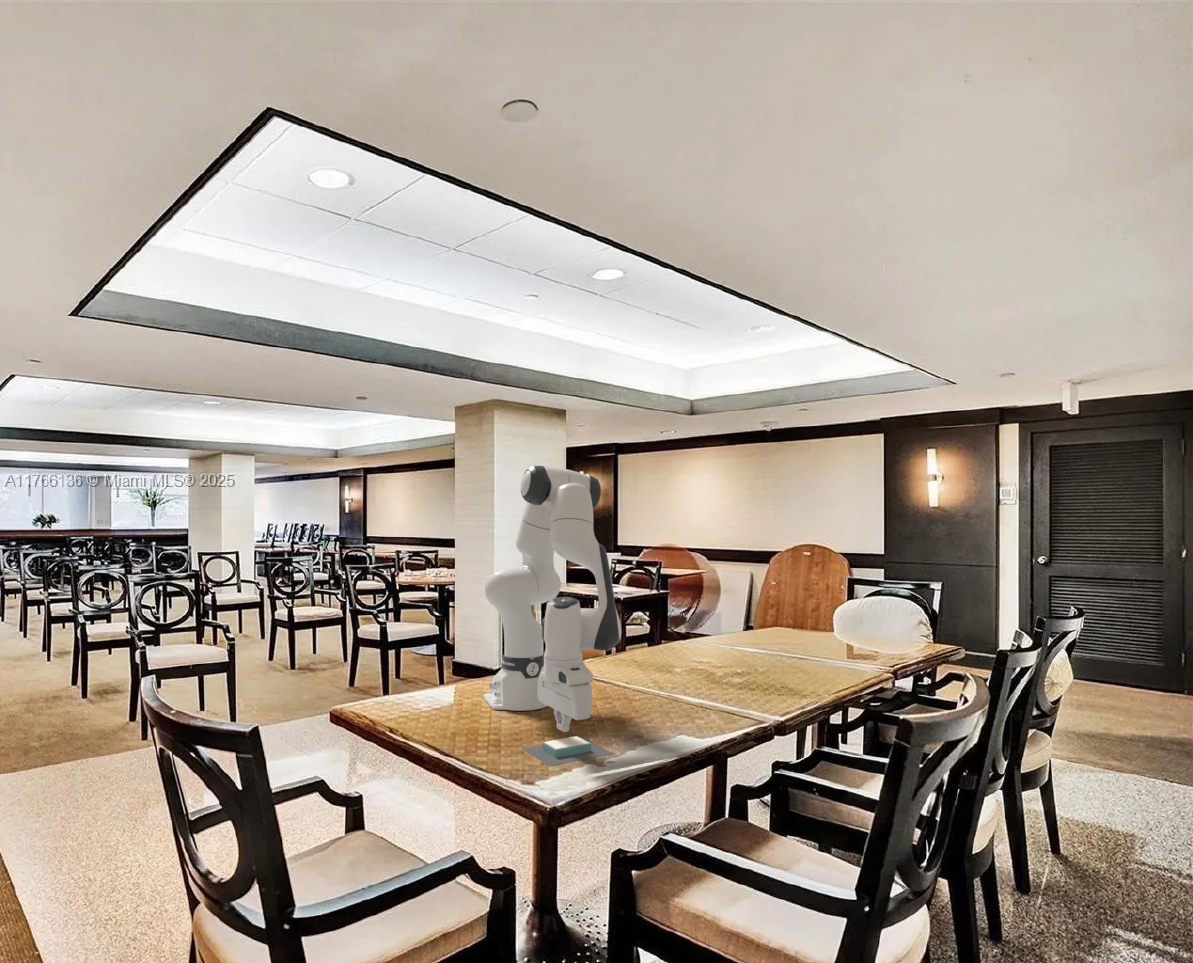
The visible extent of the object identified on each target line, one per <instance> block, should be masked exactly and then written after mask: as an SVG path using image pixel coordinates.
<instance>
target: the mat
mask: <svg viewBox="0 0 1193 963" xmlns="http://www.w3.org/2000/svg"><path fill="white" fill-rule="evenodd" d="M580 738H581V739H583V740H585V741H587V742H589V743H591V751H590V752H585V753H579V754H574V755H569V756H563V757H558V758H555V757H553V756H552V755H550V754H548V753H547V752H545V751H543V744H540V745H533V746H528V747H523V748H522V750H524V751H526V752H527V753H528V754H530V755H531V756H533V757H534V758H536V759H538V760H539V761H541V762H542V763H544V764H546V765H547V766H548V767H552V766H553V767H554V766H558V765H562V764H567V763H575V762H579V761H583V760H589V759H595V758H600V757H605V756H609V755H611V756H612V755H614V753H613V752H612V751H609V750H607V749H605V748H603V747H602V746H599V745H598V744H596V743H594V742H592V741H590V740H588V739H586V738H585V737H580Z"/></svg>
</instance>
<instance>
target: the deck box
mask: <svg viewBox="0 0 1193 963" xmlns="http://www.w3.org/2000/svg"><path fill="white" fill-rule="evenodd" d="M581 738H582V737H579V736H576V735H575V736H569V737H564V738H559V739H558V738H557V739H553V740H548V741H543V742H542V745H543V751H545V752H547V753H548V754H550V755H552V756H553V757H555V758H558V757H563V756H569V755H574V754H579V753H585V752H590V751H591V743H589V742H587V741H585V740H583V739H581Z"/></svg>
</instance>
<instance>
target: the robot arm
mask: <svg viewBox="0 0 1193 963" xmlns="http://www.w3.org/2000/svg"><path fill="white" fill-rule="evenodd" d="M520 494H521V497H522V499H523V500H524V501H525V502H526V504H525V507H524V511H523V513H522V517H521V521H520V525H519V528H518V532H517V536H516V540H515V545H516V548H517V550H518V552H520V554H521V555H522V562H521V566H520V567H513V568H505V569H502V570H498V571H496V572H494V573H492V574H490V576H488V578H487V579H486V582H485V588H484V593H485V596H486V599H487V601H488V603H490V604H491V605H492V606H493V608H495V609H496V611H497V613H498V614H499V618H500V619H501V622H502V628H503V639H504V640H503V642H504V643H503V644H504V646H503V648H504V654H502V655H501V656H502V659H501V665H500V666H501V669H500V670H498V672H497V673H496V675H494V677H493V678H492V680H491V681H490V682H489V684H488V685H489V687H488V688H489V690H491V691H490V692H487V693H484V695H483V699H484V700H485V701H486V702H487V704H488V705H489V707H490V708H491V709H493V710H499V711H500V710H506V711H516V712H518V711H523V712H525V711H534V710H539V709H544V708H547V707H549V708H552V709H553V714H554V718H555V721H556V729H557V730H559V731H561V732H563V733H567V732H569V731H570V724H571V722H572V719H573V720H575V721H583V720H587V719H589V718H590V717H591V715H592V712H593V710H592V709H593V691H592V685H591V683H593V682H594V675H593V672H592V671H591V670H590V669H589V668H588V667H587V665H586V664H585V662H584V661H583V652H582V650H586V649H587V650H595V651H603V652H604V651H605V652H609V651H611V650H612V649H613V648H615V647H616V646H617V645H618V644H619V643H620V642H621V639H622V623H621V620H620V616H619V613H618V610H617V607H616V600H615V594H614V593H615V592H614V587H613V580H612V575H611V574H612V573H611V569H610V564H609V559H608V554H607V550H606V547H605V546H604V545H603V544H602V543H599V542H598V539H597V538H596V536H595V531H594V510H595V509H596V508H597V506H598V505H599V502H600V499H601V497H602V486H601V483H600V481H599V479H598V478H596V477H595V476H593V475H590V474H588V473H585V474H584V473H581V472H578V471H575V470H571V469H567V468H563V469H562V468H559V467H558V468H556V467H547V466H544V465H532V466H529V467H528V468H527V469H526V470H525V472H524V473H523V475H522V478H521V482H520ZM554 553H556V554H557V555H558V556H560V557H561V558H563V559H565V560H566V561H568V562H570V563H573V564H576V565H579V566H581V567H584V568H585V569H587V570H589V571H590V572H591V573H592V574H593V576H594V578H595V583H596V591H597V598H598V606H597V607H594V608H587V607H585V608H582V607H581V604H580V601H579V600H578V599H577V598H574V597H571V596H558V595H559V593H560V591H561V585H562V583H561V582H562V581H561V577H560V576H559V573H558V572H557V571H556V569H555V563H554ZM557 596H558V597H557ZM544 603H546V607H545V608H546V609H545V613H544V614H545V616H544V617H543V618H542V621H541V623H540V622H539V621H537V620H536V619H535V616H534V615H533V610H532V606H533V605H541V604H544ZM544 644H545V648H544ZM544 649H545V650H544Z"/></svg>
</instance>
